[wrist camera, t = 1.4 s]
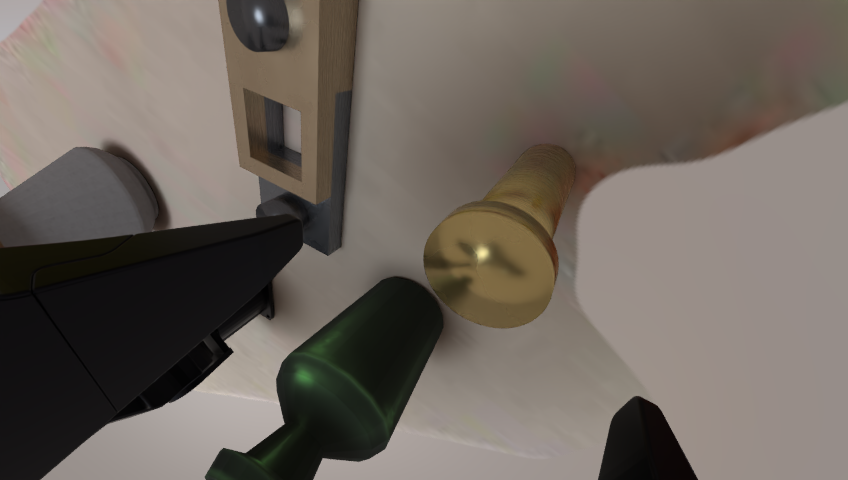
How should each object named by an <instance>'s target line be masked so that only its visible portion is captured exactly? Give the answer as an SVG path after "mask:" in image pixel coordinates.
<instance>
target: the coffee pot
mask: <svg viewBox="0 0 848 480" xmlns="http://www.w3.org/2000/svg"><path fill="white" fill-rule="evenodd" d="M157 216H158V204H157V201H156V198H155V196H154V194H153V192H152V190H151V188H150V186H149V184H148V183H147V181H146V180H145V178H144V177H143V176H142V175H141V173H140V172H139V171H138V170H137V169H136V168H135V167H134V166H133V165H132V164H131V163H130V162H128V161H127V160H125V159H123V158H121V157H116V156H114V155H112V154H110V153H108V152H105V151H103V150H100V149H97V148H90V147H75V148H73V149H72V150H70V151H69V152H67V153H66V154H64V155H63V156H61V157H60V158H58V159H57V160H55V161H54V162H52V163H51V164H50V165H48V166H47V167H45V168H44V169H42V170H41V171H39V172H38V173H36V174H35V175H33V176H32V177H30V178H29V179H27V180H26V181H25V182H23V183H22V184H20V185H19V186H17V187H16V188H14V189H13V190H11V191H10V192H8V193H7V194H5V195H4V196H2V197H1V198H0V247H12V246H24V245H36V244H48V243H59V242H69V241H80V240H90V239H98V238H106V237H115V236H122V235H129V234H133V235H135V234H138V233H145V232H151V231H152V229H153V226H154V224H155V218H157Z"/></svg>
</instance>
